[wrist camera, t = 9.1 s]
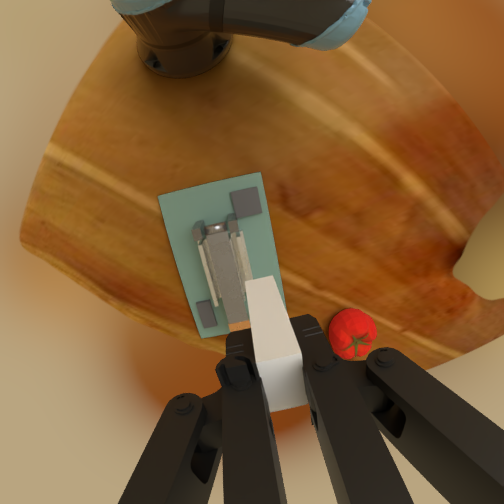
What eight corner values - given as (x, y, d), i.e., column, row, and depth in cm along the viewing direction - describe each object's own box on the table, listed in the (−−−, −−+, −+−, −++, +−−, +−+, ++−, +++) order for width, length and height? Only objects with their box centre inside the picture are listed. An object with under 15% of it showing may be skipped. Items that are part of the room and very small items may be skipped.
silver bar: (193, 221, 43) (187, 231, 37) (241, 210, 43) (243, 219, 37) (220, 318, 48) (219, 339, 42) (262, 309, 48) (267, 330, 42)
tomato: (343, 295, 50) (359, 316, 43) (373, 314, 52) (390, 334, 45) (313, 333, 52) (324, 357, 45) (344, 348, 55) (357, 371, 47)
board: (159, 195, 42) (156, 196, 40) (259, 171, 42) (261, 172, 41) (201, 334, 51) (200, 340, 49) (287, 317, 51) (289, 323, 49)
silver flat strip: (203, 225, 39) (202, 227, 38) (225, 220, 39) (225, 221, 38) (232, 337, 44) (232, 341, 43) (252, 333, 44) (253, 337, 43)
